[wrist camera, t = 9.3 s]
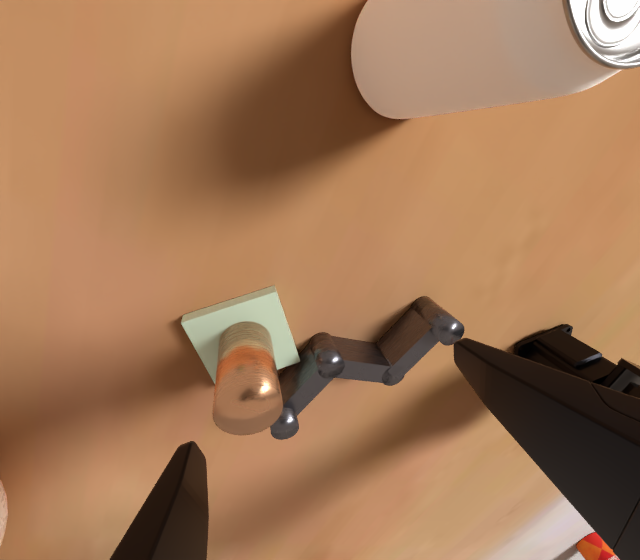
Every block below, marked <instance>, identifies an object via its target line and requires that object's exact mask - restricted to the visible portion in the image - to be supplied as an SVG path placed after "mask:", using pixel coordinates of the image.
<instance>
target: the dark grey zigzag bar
mask: <svg viewBox="0 0 640 560" xmlns="http://www.w3.org/2000/svg"><path fill="white" fill-rule="evenodd" d="M463 333H464V326H463V324H462V323H460V322H459V321H458V320H457V319H455V318H454V317H453V316H452V315H450V314H449V313H448V312H447V311H445V310H444V309H443V308H442V307H440V306H439V305H438V304H436V303H435V302H434V301H433V300H431V299H430V298H429V297H420V298H418V299H417V300H416V301H415V302H414V303H413V304H412V307H411V308H410V309H409V310H408V311H407V312H406V313H405V314H404V315H403V316H402V317H401V318H400V319H399V320H398V321H397V322H396V323H395V324H394V326H393V327H392V328H391V329H390V330H389V331H388V332H387V333H386V334H385V335H384V336H383V337H382V338H381V339H380V340H379V341H378V342H377V343H370V342H364V341H358V340H352V339H346V338H341V337H335V336H331V335H330V334H328V333H318V334H316V335H314V336H313V337H312V338H311V340H310V342H309V344H308V345H307V346H306V348H305V349H304V350H303V351H302V352H301V353H300V354H299V358H300V362H298V363H295V364H292V365H289V366H288V367H287V368H286V369H285V370H284V371H283V372H282V373H281V374H280V375H279V377H278V379H279V384H280V390H281V395H282V401H283V409H282V412H281V415H280V416H279V418H278V419H277V421H276V422H275V423H274V424H272V425H271V426H270V428H271V434H272V436H273V437H274V438H276V439H281V440H282V439H288V438H290V437H292V436H294V435H295V434H296V433H297V431H298V429H299V424H298V420H297V415H298V414H299V413H300V412H301V411H302V410H303V409H304V408H305V407H306V406H307V405H308V404H309V403H310V402H311V401H312V400H313V399H314V398H315V397H316V396H317V395H318V394H319V393H320V392H321V391H322V389H323V388H324V387H325V386H326V385H327V384H328V383H329V382H330V381H331V380H332V379H333V378H344V379H353V380H362V381H371V382H379V383H384V384H385V385H388V386H391V385H395V384H397V383H399V382H400V381H401V380H402V379H403V377H404V375H405V374H406V373H407V372H408V371H409V370H410V369H411V368H412V367H413V366H414V365H415V364H416V363H417V362H418V361H419V360H420V359H421V358H422V357H423V356H424V355H425V354H426V353H427V352H428V351H429V350H430V349H431V348H432V347H434V346H435V345H436V344H437V343H438V342H439V341H440V342H441V343H442V344H443V345H452V344H454V342H455V341H457V340H460V339H461V337H462V336H463Z"/></svg>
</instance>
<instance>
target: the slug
mask: <svg viewBox="0 0 640 560" xmlns="http://www.w3.org/2000/svg"><path fill="white" fill-rule="evenodd" d="M282 409H283V401H282V395H281V390H280V384H279V379H278V373H277V367H276V362H275V356H274V351H273V345H272V340H271V335H270V333H269V331H268V330H267V329H266V328H265V327H264V326H263V325H261V324H259V323H256V322H251V321H243V322H238V323H235V324H233V325H231V326H230V327H228V328H227V329H226V330H225V331H224V332H223V333H222V335H221V337H220V340H219V348H218V359H217V370H216V382H215V393H214V405H213V419H214V422H215V424H216V425H217V426H218V427H219V428H220V429H221V430H223V431H225V432H227V433H229V434H233V435H250V434H255V433H258V432H261V431H263V430H265V429H267V428H268V427H270V426H271V425H272V424H274V423H275V422H276V421H277V419H278V418H279V416H280V415H281V412H282Z"/></svg>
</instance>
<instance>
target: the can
mask: <svg viewBox="0 0 640 560" xmlns="http://www.w3.org/2000/svg"><path fill="white" fill-rule="evenodd" d="M351 61H352V70H353V74H354V78H355V81H356V84H357V87H358V89H359V91H360V93H361V95H362V97H363V98H364V100H365V101H366V102H367V103H368V105H369V106H370V107H371V108H372V109H373V110H374V111H375V112H377V113H378V114H380V115H382V116H385V117H388V118H393V119H411V118H419V117H426V116H434V115H441V114H448V113H455V112H463V111H469V110H476V109H483V108H490V107H497V106H504V105H511V104H518V103H524V102H531V101H537V100H544V99H550V98H556V97H561V96H566V95H570V94H574V93H577V92H581V91H584V90H586V89H589V88H591V87H593V86H595V85H597V84H599V83H601V82H603V81H604V80H606V79H608V78H609V77H611V76H613V75H614V74H616V73H617V72H619V71H621V70H623V69H632V68H636V67H640V0H368V1H367V2H366V4H365V5H364V7H363V9H362V11H361V13H360V15H359V17H358V20H357V22H356V25H355V29H354V33H353V38H352V46H351Z"/></svg>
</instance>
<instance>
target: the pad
mask: <svg viewBox="0 0 640 560" xmlns="http://www.w3.org/2000/svg"><path fill="white" fill-rule="evenodd" d="M243 321H251V322H256V323H259V324H261V325H263V326H264V327H265V328H266V329H267V330H268V331H269V333H270V335H271V340H272V345H273V351H274V356H275V362H276V367H277V370H278V369H281V368H284V367H286V366H289V365H292V364H295V363H298V362H300V358H299V355H298V352H297V349H296V346H295V343H294V340H293V337H292V334H291V331H290V329H289V326H288V323H287V320H286V317H285V314H284V311H283V308H282V305H281V302H280V300H279V297H278V294H277V291H276V288H275V285H274V286H271V287H268V288H265V289H261V290H258V291H255V292H252V293H249V294H246V295H243V296H240V297H237V298H234V299H231V300H228V301H225V302H221V303H218V304H215V305H212V306H209V307H206V308H203V309H200V310H197V311H194V312H191V313H188V314H185V315H183V317H182V321H181V324H182V326H183V328H184V330H185V331H186V333H187V335H188V337H189V339H190V340H191V342H192V344H193V346H194V348H195V349H196V351H197V353H198V355H199V357H200V358H201V360H202V362H203V364H204V366H205V367H206V369H207V371H208V373H209V375H210V376H211V378H212V380H213V382H214V384H215V382H216V370H217V359H218V348H219V340H220V337H221V335H222V333H223V332H224V331H225V330H226V329H227V328H228V327H230V326H231V325H233V324H235V323H238V322H243Z"/></svg>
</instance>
